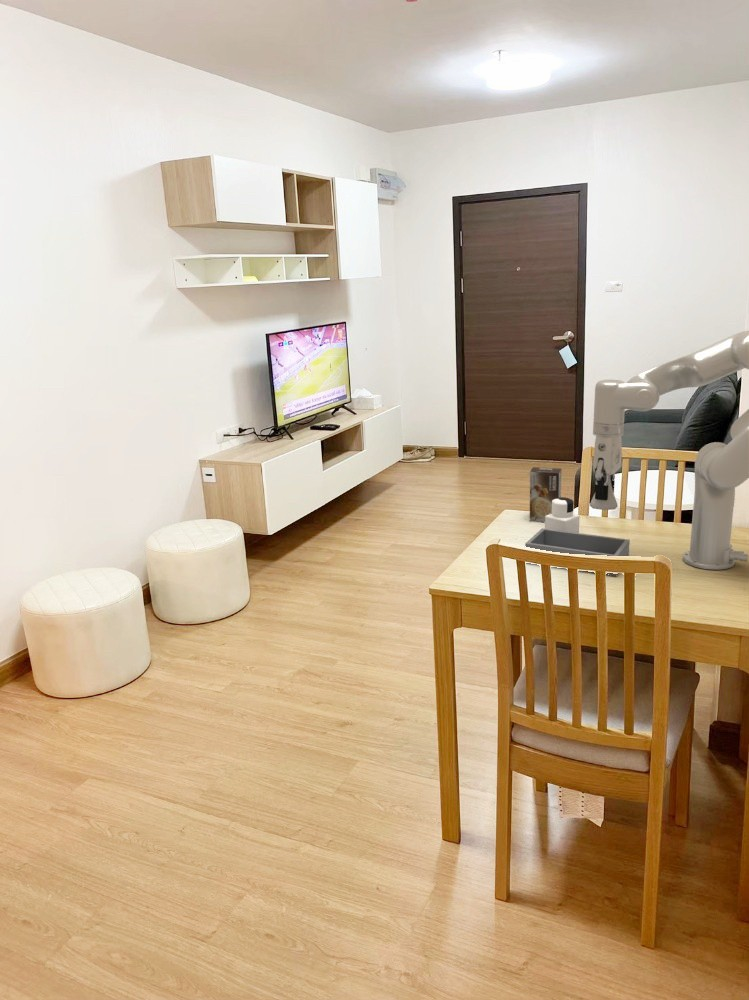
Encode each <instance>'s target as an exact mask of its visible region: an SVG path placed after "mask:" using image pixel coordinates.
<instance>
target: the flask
mask: <svg viewBox="0 0 749 1000" xmlns="http://www.w3.org/2000/svg"><path fill="white" fill-rule="evenodd" d="M602 473H606V471H602ZM610 476H611V475H608V483H607V485H609V487H608V500H606V501H605V500H597V499H595V493H594V494H593V496H592V498H591V501H590V503H589V506H590V507H591V508H592V509H593V510H594V509H595V510H602V511H609V510H612V511H613V510H616V509H617V508H618V505H619V504H618V502H617V500H616V497H615V492H614V493H613V489H612V486H611V479H610ZM602 477H604V480H605V476H602Z"/></svg>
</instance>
